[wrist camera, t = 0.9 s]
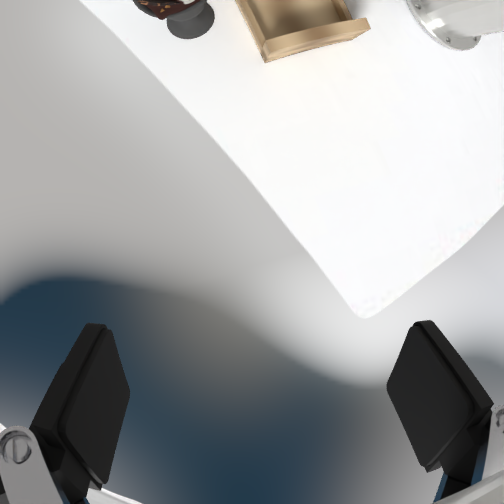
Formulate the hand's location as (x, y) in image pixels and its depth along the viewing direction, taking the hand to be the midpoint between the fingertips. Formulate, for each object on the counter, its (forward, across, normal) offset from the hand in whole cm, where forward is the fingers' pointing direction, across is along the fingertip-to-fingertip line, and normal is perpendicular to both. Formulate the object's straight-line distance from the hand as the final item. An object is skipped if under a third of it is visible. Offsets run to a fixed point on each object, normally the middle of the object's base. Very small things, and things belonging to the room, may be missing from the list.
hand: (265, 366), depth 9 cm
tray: (+26, -4, -22) cm, 34 cm away
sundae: (+26, +6, -18) cm, 32 cm away
